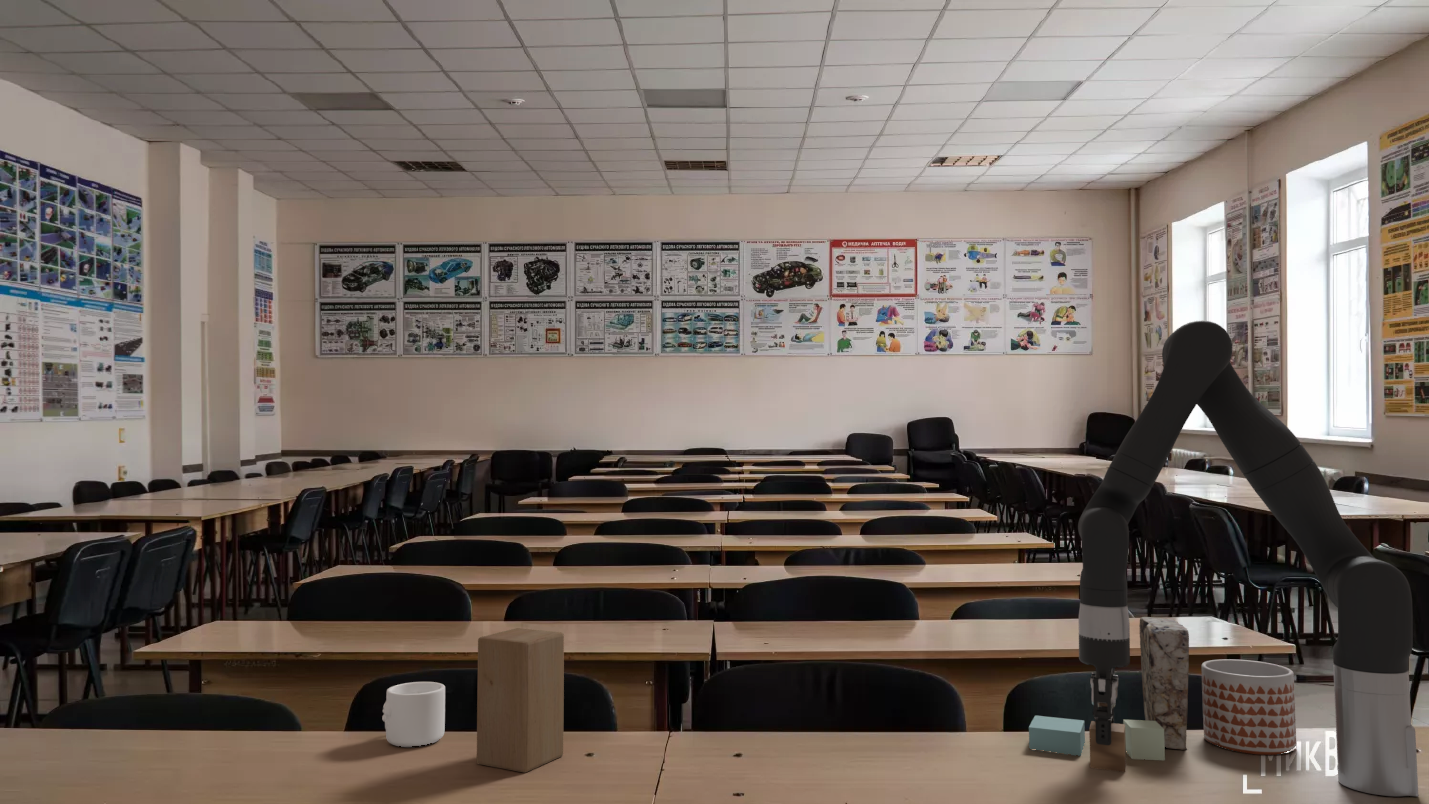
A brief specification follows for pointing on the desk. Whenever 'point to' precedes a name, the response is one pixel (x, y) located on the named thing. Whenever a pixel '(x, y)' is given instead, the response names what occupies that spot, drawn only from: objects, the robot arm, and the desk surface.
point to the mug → (414, 713)
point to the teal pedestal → (1057, 735)
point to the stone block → (1165, 677)
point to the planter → (1249, 706)
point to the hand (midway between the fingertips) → (1105, 737)
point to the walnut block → (1108, 749)
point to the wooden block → (520, 699)
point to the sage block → (1144, 740)
